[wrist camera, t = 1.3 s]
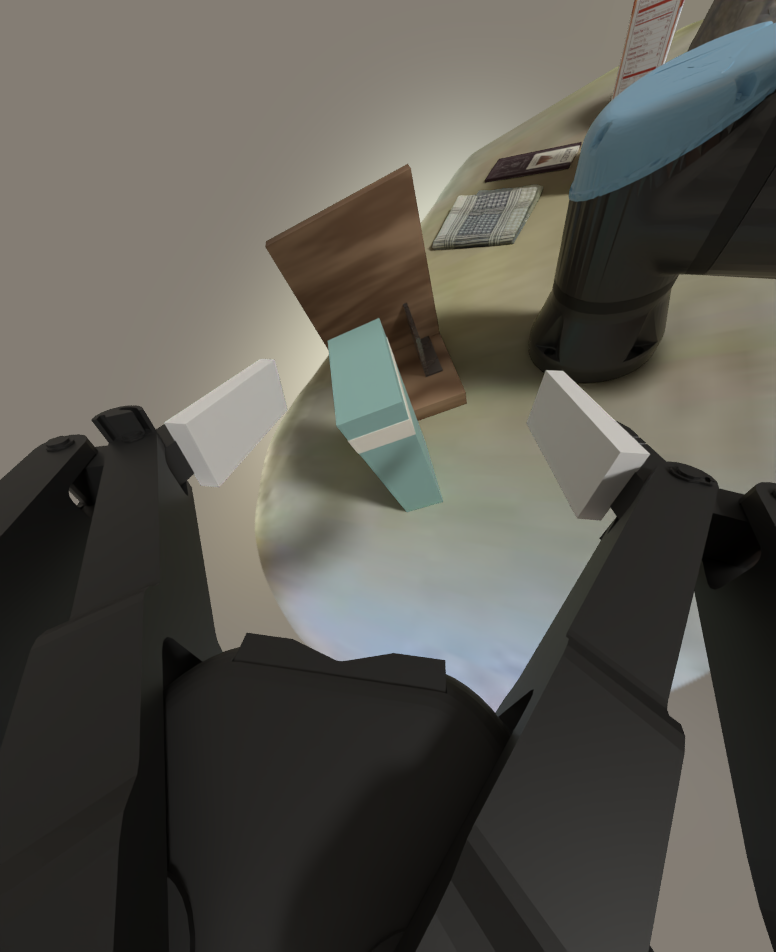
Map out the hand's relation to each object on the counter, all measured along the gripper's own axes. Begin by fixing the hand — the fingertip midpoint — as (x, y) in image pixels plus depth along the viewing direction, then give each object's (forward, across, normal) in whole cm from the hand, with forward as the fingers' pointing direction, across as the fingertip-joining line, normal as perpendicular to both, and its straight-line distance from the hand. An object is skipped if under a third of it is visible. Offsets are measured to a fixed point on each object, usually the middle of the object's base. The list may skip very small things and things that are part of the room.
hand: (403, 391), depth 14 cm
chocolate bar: (+86, +22, +20) cm, 91 cm away
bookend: (+34, +2, -8) cm, 35 cm away
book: (+17, +1, -19) cm, 25 cm away
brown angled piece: (+33, -3, -13) cm, 35 cm away
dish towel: (+70, +12, +9) cm, 72 cm away
